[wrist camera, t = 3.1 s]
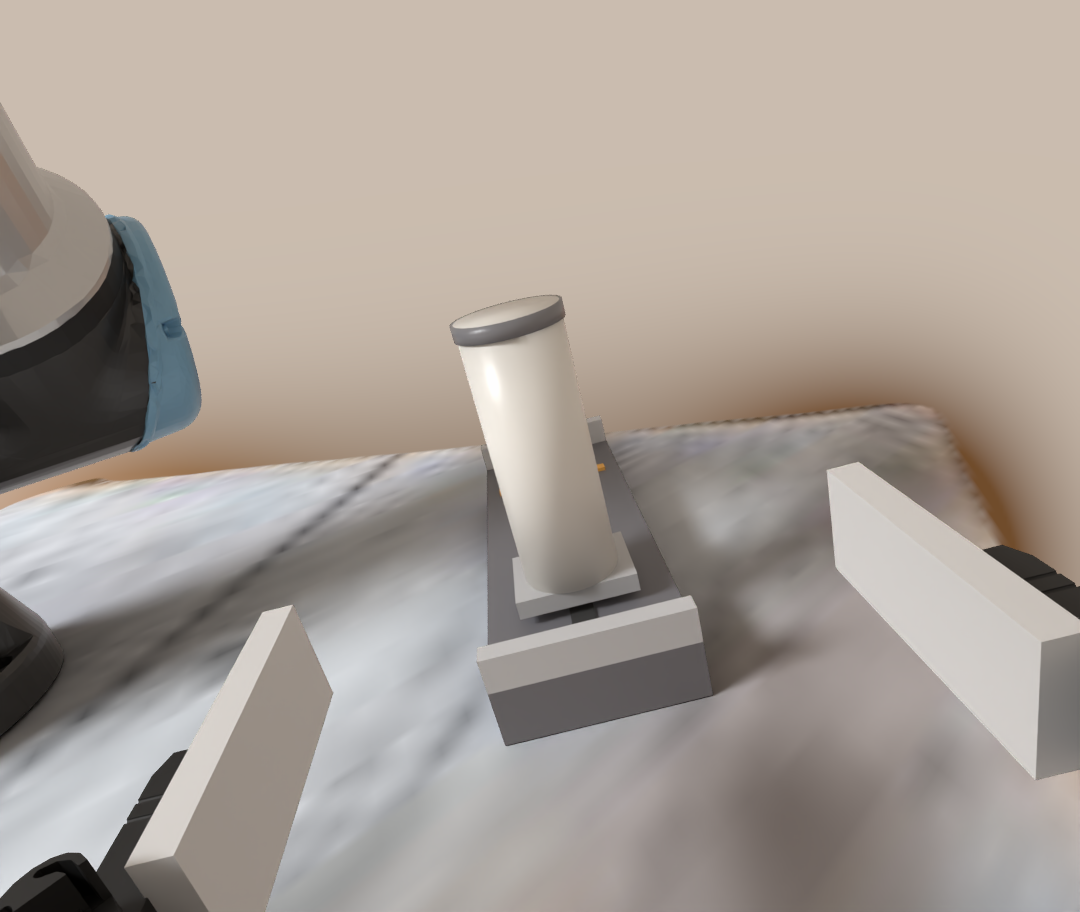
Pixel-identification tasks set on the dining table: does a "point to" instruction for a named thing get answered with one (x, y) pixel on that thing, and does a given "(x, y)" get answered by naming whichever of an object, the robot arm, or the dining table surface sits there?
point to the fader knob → (542, 455)
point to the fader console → (588, 631)
